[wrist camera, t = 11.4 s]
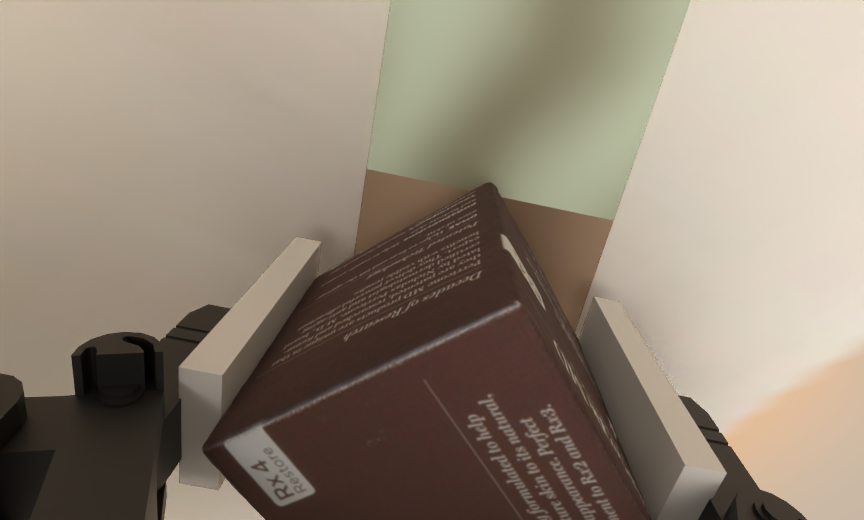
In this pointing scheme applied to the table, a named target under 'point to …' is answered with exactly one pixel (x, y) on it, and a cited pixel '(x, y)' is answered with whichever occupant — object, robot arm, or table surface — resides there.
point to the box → (428, 390)
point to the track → (517, 118)
